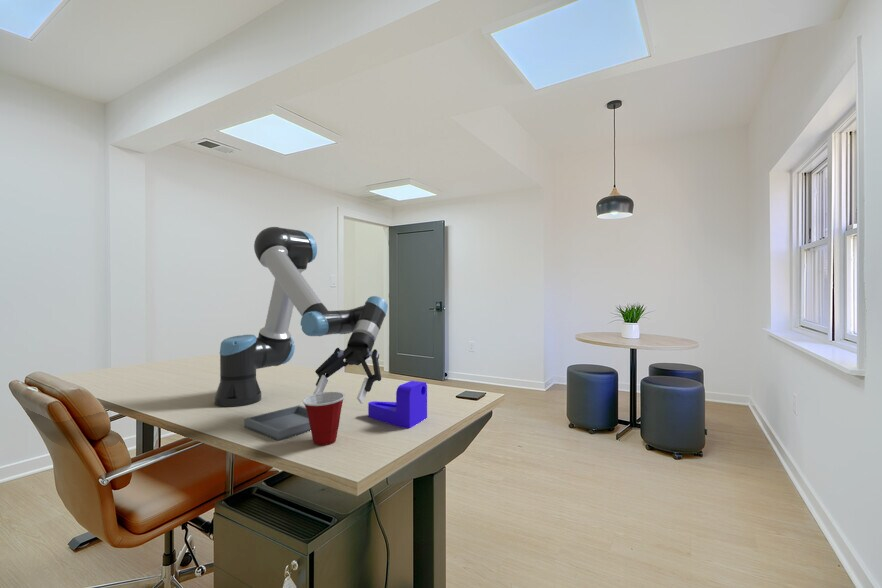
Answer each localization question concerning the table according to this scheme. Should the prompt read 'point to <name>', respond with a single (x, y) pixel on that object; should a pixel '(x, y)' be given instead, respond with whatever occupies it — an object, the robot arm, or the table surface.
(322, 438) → the plastic cup
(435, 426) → the table surface
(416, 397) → the bracket
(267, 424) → the tray
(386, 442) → the table surface
